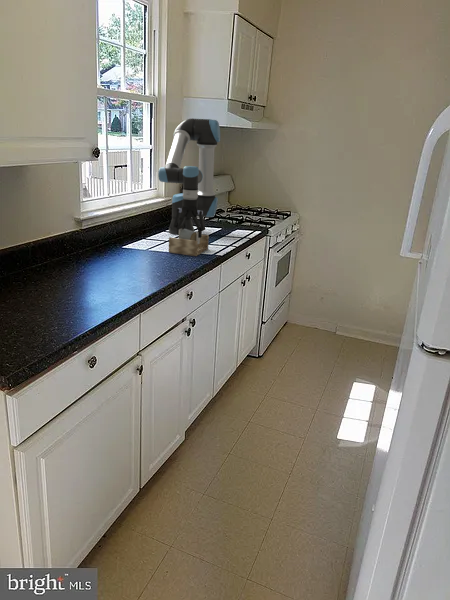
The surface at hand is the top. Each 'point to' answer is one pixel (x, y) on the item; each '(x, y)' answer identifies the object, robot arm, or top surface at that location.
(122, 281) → the top surface
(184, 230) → the ceramic mug
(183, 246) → the holder
